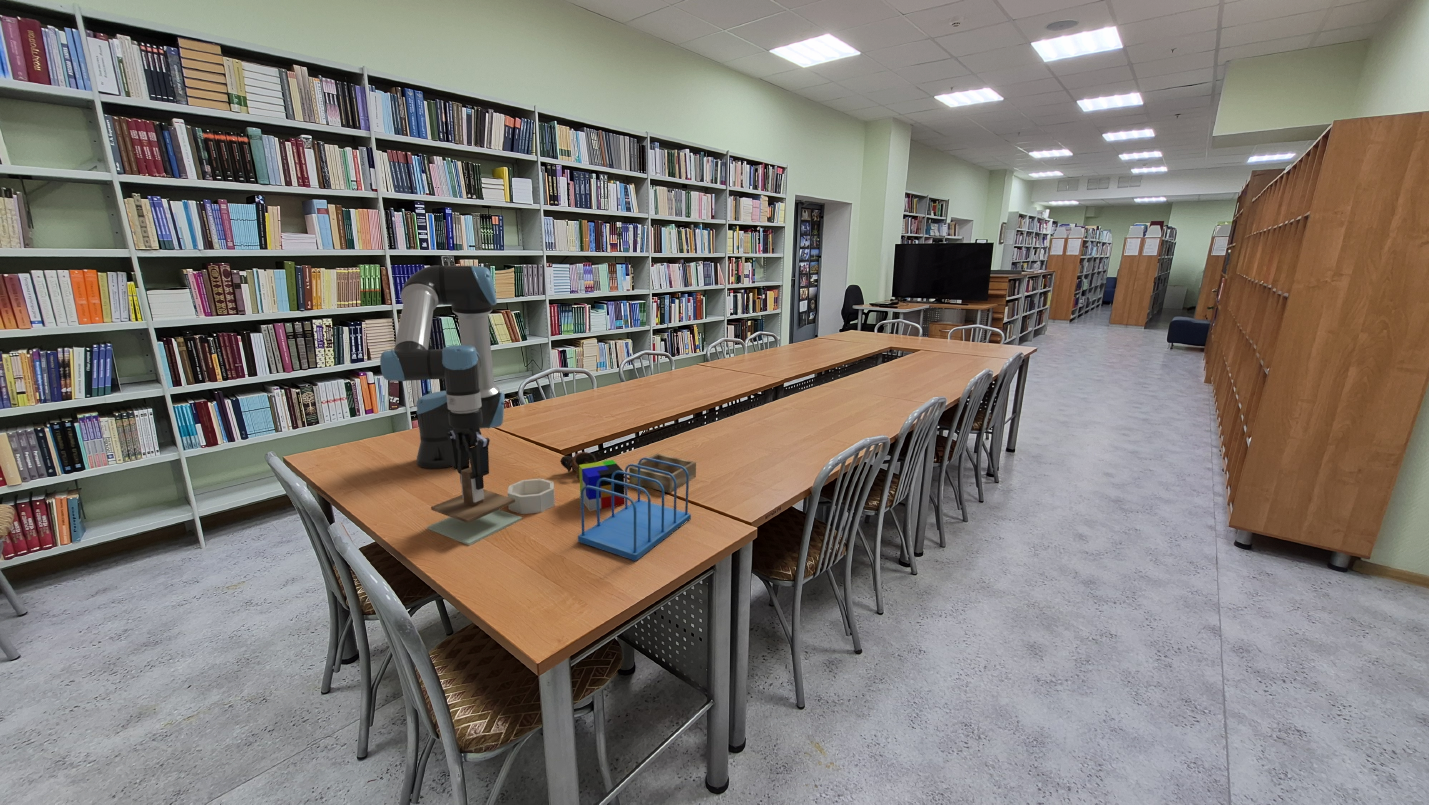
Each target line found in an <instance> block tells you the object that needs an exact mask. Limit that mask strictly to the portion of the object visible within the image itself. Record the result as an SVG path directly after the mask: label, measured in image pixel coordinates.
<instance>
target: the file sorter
mask: <svg viewBox="0 0 1429 805" xmlns="http://www.w3.org/2000/svg"><path fill="white" fill-rule="evenodd" d="M643 460H649V461H654V462H659V463H663V464H667V465H671V466H675V467H679V468H682V469H683V470H684V471H685V473H686V483H685V484H686V485H685V487H686V488H685V509H684V511H682V510H679V509H677V490H678V488H677V482H676V479H675V477H674V476H673V475H672V474H673V473H672V472H668V471H663V470H659V469H658V470H657V469H653V468H649V467H645V466H640V464H641V461H643ZM636 464H637V463H630V464H628V465H626V467H625V468H624V470H623V471H616V472H614V473H613V474H612V477H611V479H608V478H601V479H599V480H598V481H597V484H596V487H593V486H585V487H583V489H582V490H581V497H580V516H581V517H580V520H581V523H580V524H581V533H580V534H578V536H577V541H578V542H579V543H580V544H584V545H587V546H591V547H594V548H595V549H599V550H602V551H605V552H607V553H612V554H615V555H618V556H620V557H623V558H626V559H629V560H632V561H637V560H639V559H641V557H643V556H644V555H645V554H647V553H648V552H650V551H651V550H652V549H653V548H654V546H657V545H659V544H660V543H661V542H663V541H664V540H665V539H667V538H668V537H669V536H670V535H672V534H673V533H674V532H676V531H677V530H678V529H679V528H678V527H680V526H681V525H682V524H684V523H685V522H686V521H688V520H689V519H690V520H691V519H692V514H691V513H690V512H688V511H689V486H690V485H689V483H690V481H689V474H688V471H687V470H686V468H685V467H683V466H681V465H677V464H673V463H669V462H665V461H660V460H656V459H651V458H649V457H647V456H646V457H642V458H641V459H639V461H638V465H636ZM631 466H634V467H638V475H636V474H632V473H629V471H628V470H629V467H631ZM640 468H642V469H647V470H651V471H654V472H656V473H660V474H664V475H668V476H670V477H672V479H673V481H674V491H673V508H671V507H669V506H665V492H664V488H663V485H662V484H661V483H660V482H659V481H658V480H655V479H652V478H648V477H644V476H640ZM616 473H621V474H624V482H620V481H616V480H614V475H615V474H616ZM629 475H630V476H633V477H638V485H636V484H632V483H628V476H629ZM640 478H641V479H645V480H649V481H653V482H656V483H657V484H658V485H659V486H660V487H661V490H662V491H661V504H658V503H654V502H652V500H651V496H650V493H649V492H648V490H646V489H645V488H644V487H643V486H641V485H640ZM602 480H605V481H609V482H611V491H608V490H605V489H601V488H599V483H600V481H602ZM614 483H617V484H621V485H624V495H622V494H619V493H615V492H614ZM586 488H590V489H594V490H596V501H597V510H596V522H597V523H596V524H594V525H593V526H592V527H589V528H588V529H587V530H585V507H584V506H585V503H584V490H585V489H586ZM628 488H632V489H636V490H637V500H635V501H634V500H633V499H632V497H631V496H628ZM599 491H602V492H605V493H609V494H611V501H612V507H611V515H609V516H608V517H606V518H605V519H603V520H600V518H601V517H600V516H601V515H600V509H599ZM641 491H642V492H644V494H645V495H646V498H647V501H646V500H643V499H641ZM614 495H616V496H619V497H623V498H624V502H625V504H624V507H623V508H621V509H620V510H618V511H617V512H615V506H614ZM628 501H629V502H630V504H628ZM690 520H689V521H690ZM689 521H688V522H689ZM686 523H687V522H686ZM686 523H685V524H686ZM685 524H684V525H685ZM682 526H683V525H682ZM682 526H681V527H682ZM681 527H680V528H681ZM677 528H678V529H677ZM676 529H677V530H676ZM675 530H676V531H675ZM673 531H674V532H673ZM672 532H673V533H672ZM671 533H672V534H671ZM668 535H669V536H668ZM667 536H668V537H667ZM663 539H664V540H663ZM658 543H659V544H658Z"/></svg>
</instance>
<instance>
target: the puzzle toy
mask: <svg viewBox="0 0 1429 805" xmlns="http://www.w3.org/2000/svg"><path fill="white" fill-rule="evenodd" d="M588 463H589V462H588ZM616 471H624V470H623V469H622V468H621V467H620V466H619V464H617V462H616V461H615V460H614V459H611V460H604V461H596V463H594V462H591V463H589V464H582V465H579V476H580V479H579V496H580V498H581V490H582V489H583V487H585V486H593V487H596V484H597V481H598V480H599V479H601V478H608V479H611V477H612V474H613V473H614V472H616ZM614 480H616V481H620V482H624V483H625V474H621V473H616V474H615V475H614ZM599 488H601V489H605V490H608V491H611V482H609V481H605V480H602V481H600V483H599ZM614 492H615V493H619V494H622V495H625V486H624V485H621V484H617V483H614ZM584 506H586V508H587V510H588V511H589V512H591V511H597V501H596V490H594V489H590V488H586V489H585V490H584ZM617 506H625V498H623V497H619V496H616V495H614V507H617ZM606 508H612V501H611V494H609V493H605V492H602V491H599V510H601V509H606Z"/></svg>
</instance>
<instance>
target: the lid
mask: <svg viewBox="0 0 1429 805" xmlns="http://www.w3.org/2000/svg"><path fill="white" fill-rule="evenodd" d="M469 467H470V468H467V469H464V470H461V477H462V485H461V488H462V487H463V495H462V494H460V495H458V496H455V497H453V498H450V499H448V500H445V501H442V502H440V503H437V504H435V505H433V506H431V507H430V509H431V510H430V511H434V512H436V513H440V514H441V515H444V516H447V517H452V518H455V519H458V520H460V521H463V522H466V523H470V522H472V521H474V520H477V519H479V518H481V517H483V516H486V515H488V514H490V513H492V512H494V511H497V510H502V509H503V508H505V507H509V505H510V504H512V503H514V502H515V499H512V498H509V497H508V496H506V495H504V494H499V493H497V492H493V491H489V490H487V489H484V488H483V491H484V499H482V500H480V501H478V502H473V496H472V486H471V478H470V477H471V476H473V474H472V469H471V466H469ZM463 497H464V499H463Z"/></svg>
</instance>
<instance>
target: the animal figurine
mask: <svg viewBox="0 0 1429 805" xmlns="http://www.w3.org/2000/svg"><path fill="white" fill-rule="evenodd" d="M587 458H591V459H592V460H593V463H596V462H598V461H597V458H596V456H595V455H594V454H593V453H591V452H587V451H581V452H578V453H576V454H575V455H573V456H570V455H564V456H562V457H561V458H560V460H559V461H560V464H561V466H562V467H563V468H565V469H566V470H567V472H568V473H570V472H571V471H572V472H574V471H575V472H576V475H575V479H577V480H580V476H579V465H582V464H589V462H587V461H586V459H587Z"/></svg>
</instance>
